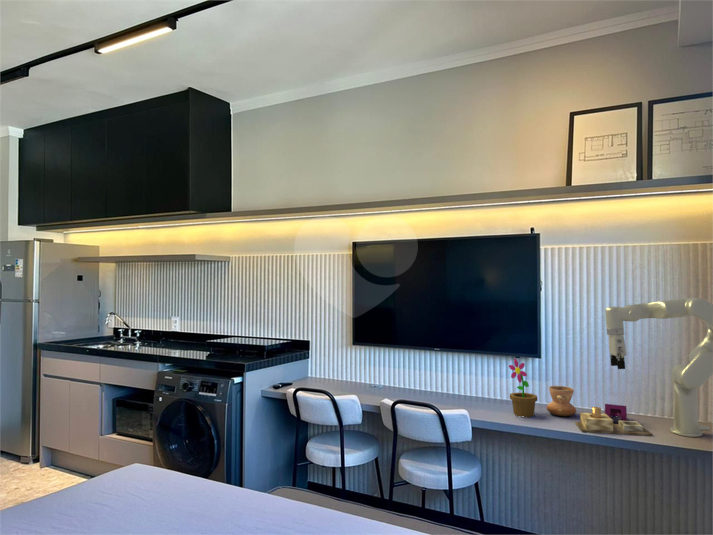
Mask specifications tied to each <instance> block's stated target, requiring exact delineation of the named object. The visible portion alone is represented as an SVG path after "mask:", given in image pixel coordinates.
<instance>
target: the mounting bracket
mask: <svg viewBox="0 0 713 535" xmlns="http://www.w3.org/2000/svg"><path fill="white" fill-rule="evenodd" d="M604 414H606V415H608V416H609V417H610V418H611V419H612V417H614V416H617V417H616V418H620V421H628V417H627V416H628V410H627V406H626V405H622V404H621V405H619V404H612V403H604Z"/></svg>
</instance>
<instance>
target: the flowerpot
mask: <svg viewBox="0 0 713 535" xmlns="http://www.w3.org/2000/svg"><path fill="white" fill-rule="evenodd" d="M513 364H514V365H512V364H509V365H508V368H509V369H510V370H512V371H513V372H512V373H511V374H510V375H511V376H510V377H511V379H514V378H516V379H517V382H518V383H521V385H519V386H517V387H516V388H517V389H518V390H520V391H521V392H512V393H509V399H510V401H511V402H512V409H513V415H514V414H515V415H514V416H516V415H517V416H516V417H519V416H524V417H523V418H531V417H530V416H533V417H534V416H535V407H536V402H538V395H537V394H534V393H530V392H525V388H529V386H530V385H529V382H528V381H526V380H524V377H527V376H528V374H527V373H526V371H524V370H523V369H524V367H525V362H522V363H520V364H519V360H518V359H517V358H514V360H513Z"/></svg>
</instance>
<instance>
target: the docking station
mask: <svg viewBox="0 0 713 535" xmlns="http://www.w3.org/2000/svg"><path fill="white" fill-rule="evenodd" d="M579 415H580V421H575V422H574V423H575V425H576V427H577V426H578V427H579V428H578V427H577V428H578V429H579V430H580V431H581V433H586V432H589V433H588V434H604V433H608V435H622V434H629V435H628V436H641V435H647V436H646V437H653V433H652V432H650V430H648V429H647V428H646V427H644V426H643V425H642V424H640V422H638V421H635V420H633V421H632V420H627V421H621V420H618V423H614V420H613V418H612V417H611V418H610V417H609V416H608V415H606V414H605V413H601V418H592V412H580V414H579Z"/></svg>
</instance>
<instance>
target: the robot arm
mask: <svg viewBox="0 0 713 535" xmlns="http://www.w3.org/2000/svg"><path fill="white" fill-rule="evenodd" d="M604 313H605V324H606V336H608V350H609V354H610V355H609V357H610V367H611V366H612V367H617V370H626V362H625V361H626V359H625V358H626V355H627V349H626V342H625V337H624V336H625V329H624V328H625V327H624V324H625V323H624V322H630V323H631V322H632V323H634V322H637V321H639V320H641V319H644V320H645V319H660V320H661V319H663V320H664V319H675V318H684V317H696V318H697V319H699V320H700V321H703V323H705V325H706V328H707V332H706V335H705V336H704V337H703V339H702V340H701V341H700V342H699V343H698V344H697V345H696V346H695V347H694V348H693V349H692V350H691V351H690V353H689V355H688V360H689V363H688V364H677V365H676V366H674V367H673V368H672V370H671V374H670V375H671V376H670V378H671V385H672V406H673V408H672V409H673V426H671V427H669V431H670V432H671V433H672V434H675V435H679V436H683V437H690V438H693V437H694V438H698V437H702V436H703V431H706V432H710V431H711V427H710V426H705V425H703V424H702V425H701V424H699V411H698V410H699V408H698V406H699V404H698V403H699V402H698V398H699V397H698V389H699V388H701V387H702V386H703V385H704V384H705V383H706V382H707V381H708V380H709V379H710V378H711V377H712V375H713V303H711V302H709V301H708V300H706V299H704V298H701V297H686V298H685V297H684V298H677V299H675V298H674V299H668V300H658V301H654V302H647V303H646V302H644V303H637V304H636V303H635V304H628V305H624V306H621V307H620V306H607V307H605V310H604Z"/></svg>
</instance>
